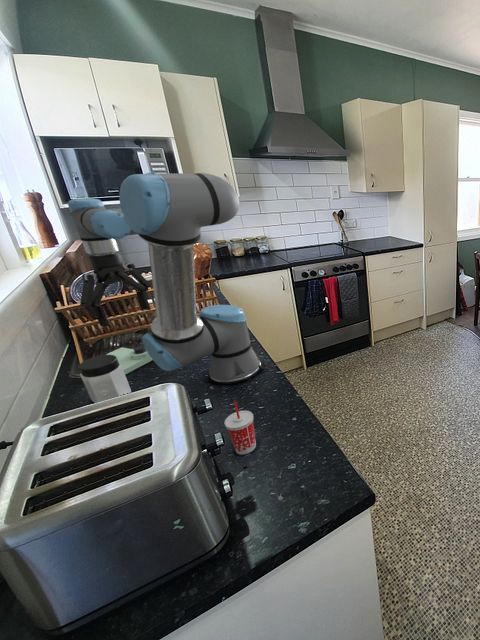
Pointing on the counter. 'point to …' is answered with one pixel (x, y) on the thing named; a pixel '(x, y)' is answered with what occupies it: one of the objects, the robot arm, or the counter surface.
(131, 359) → the scale
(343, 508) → the counter surface
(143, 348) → the tare button
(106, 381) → the jar
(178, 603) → the counter surface
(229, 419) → the beverage cup
